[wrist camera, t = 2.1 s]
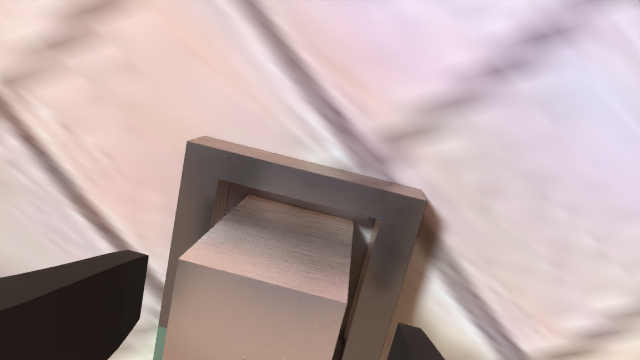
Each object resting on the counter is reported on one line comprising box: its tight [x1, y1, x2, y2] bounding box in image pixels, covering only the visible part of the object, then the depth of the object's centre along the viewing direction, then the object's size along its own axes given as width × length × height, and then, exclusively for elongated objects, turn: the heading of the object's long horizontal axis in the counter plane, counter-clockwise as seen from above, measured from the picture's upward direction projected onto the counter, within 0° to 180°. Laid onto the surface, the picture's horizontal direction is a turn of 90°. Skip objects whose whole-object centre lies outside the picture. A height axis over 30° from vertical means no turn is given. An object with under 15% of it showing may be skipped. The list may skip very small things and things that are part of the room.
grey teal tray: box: [153, 136, 427, 360], centre depth 16 cm, size 8×14×2 cm, turn 167°
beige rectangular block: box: [162, 195, 354, 360], centre depth 13 cm, size 4×4×6 cm
